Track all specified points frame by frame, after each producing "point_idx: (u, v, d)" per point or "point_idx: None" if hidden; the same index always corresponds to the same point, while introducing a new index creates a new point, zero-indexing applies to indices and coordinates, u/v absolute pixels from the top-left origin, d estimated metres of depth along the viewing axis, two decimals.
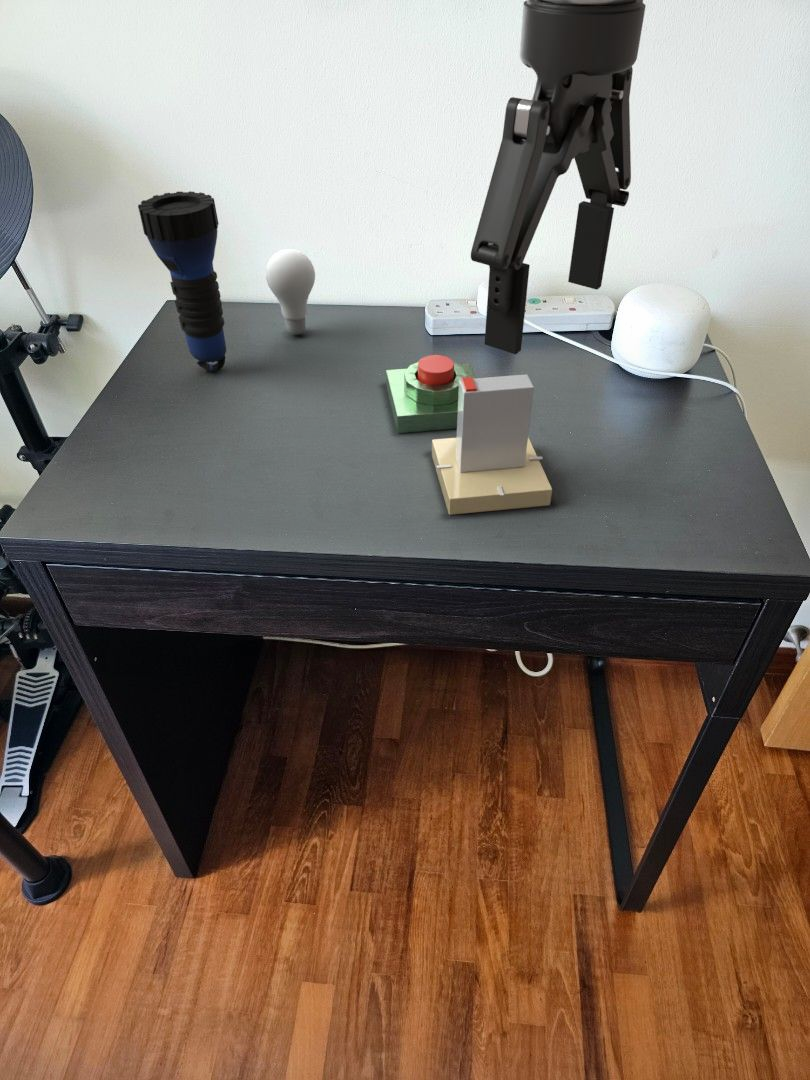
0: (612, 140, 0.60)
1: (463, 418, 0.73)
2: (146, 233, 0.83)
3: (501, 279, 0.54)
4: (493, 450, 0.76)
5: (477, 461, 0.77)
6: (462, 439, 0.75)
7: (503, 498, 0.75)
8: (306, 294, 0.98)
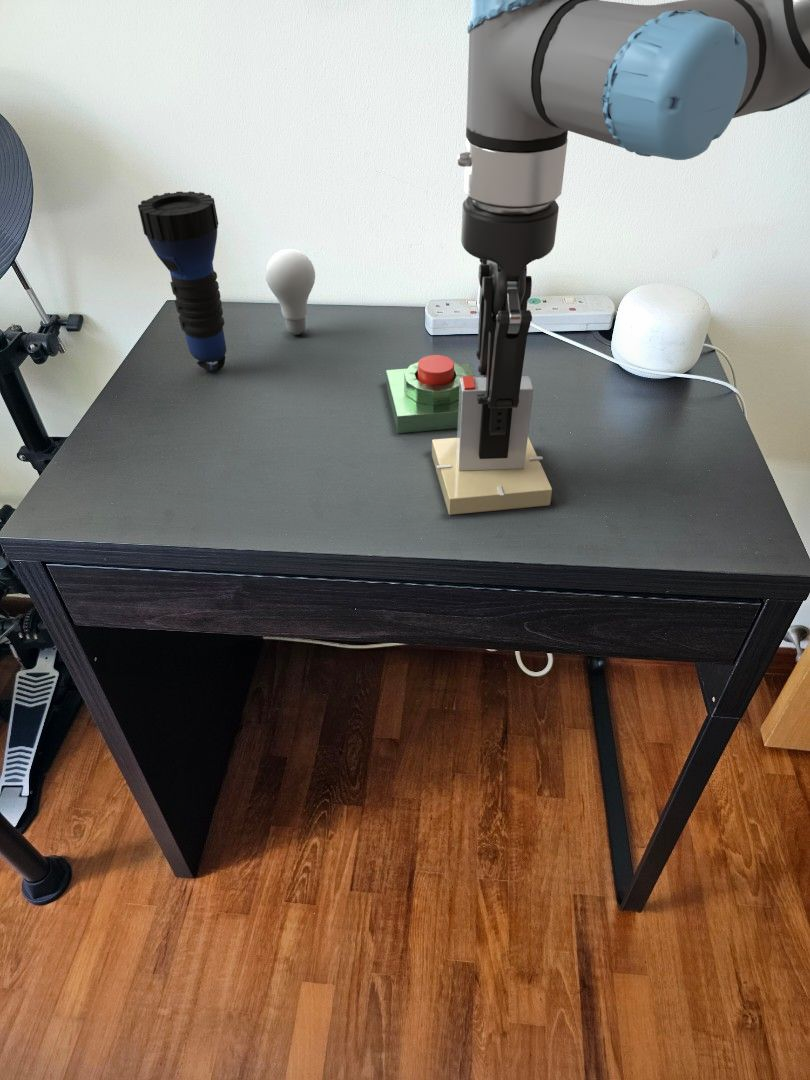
0: None
1: (461, 416, 0.73)
2: (146, 233, 0.83)
3: (502, 412, 0.71)
4: None
5: (475, 460, 0.77)
6: (460, 437, 0.75)
7: (503, 498, 0.75)
8: (306, 294, 0.98)
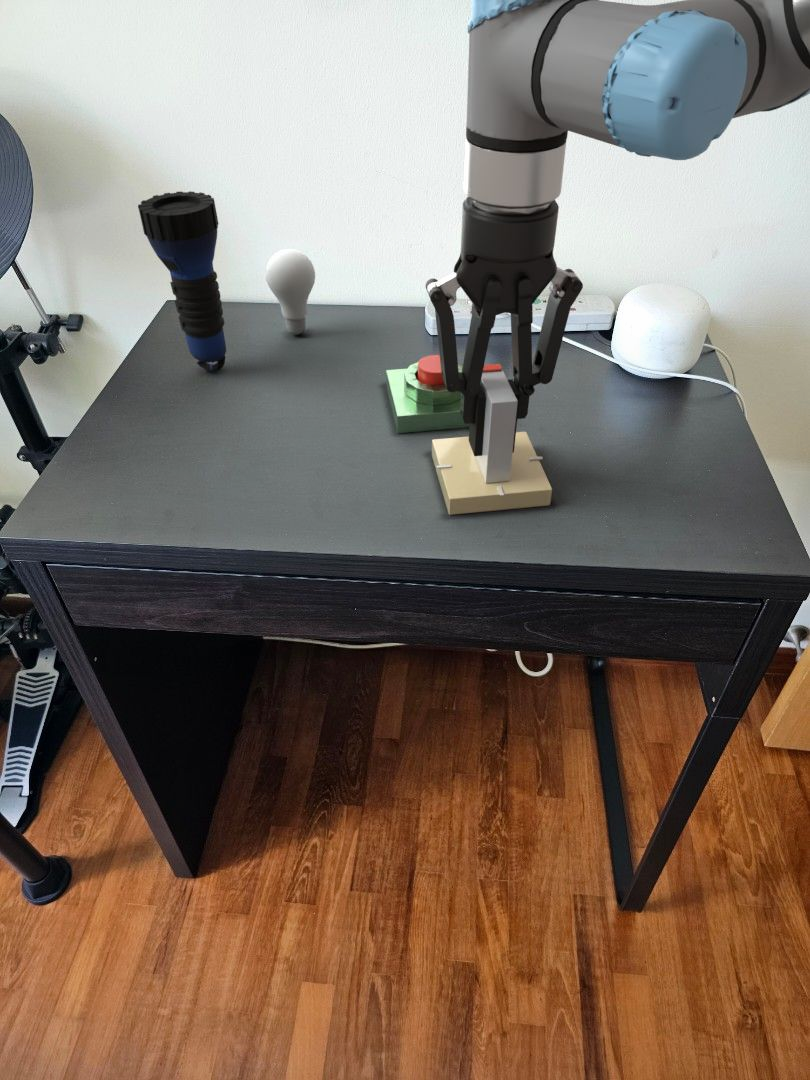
0: (547, 331, 0.69)
1: None
2: (146, 233, 0.83)
3: (463, 398, 0.73)
4: None
5: None
6: None
7: (503, 498, 0.75)
8: (306, 294, 0.98)
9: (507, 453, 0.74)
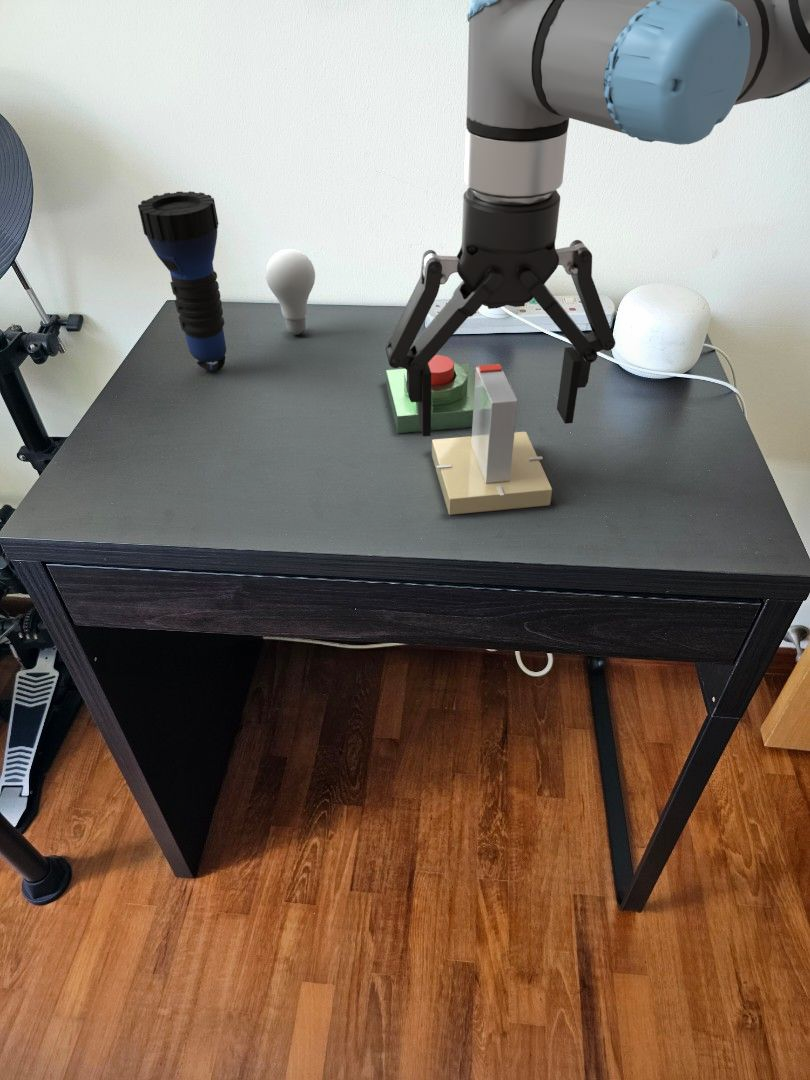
0: (585, 305, 0.68)
1: (474, 392, 0.77)
2: (146, 233, 0.83)
3: (408, 375, 0.70)
4: (479, 443, 0.77)
5: (475, 444, 0.79)
6: (473, 413, 0.78)
7: (503, 498, 0.75)
8: (306, 294, 0.98)
9: (507, 453, 0.74)
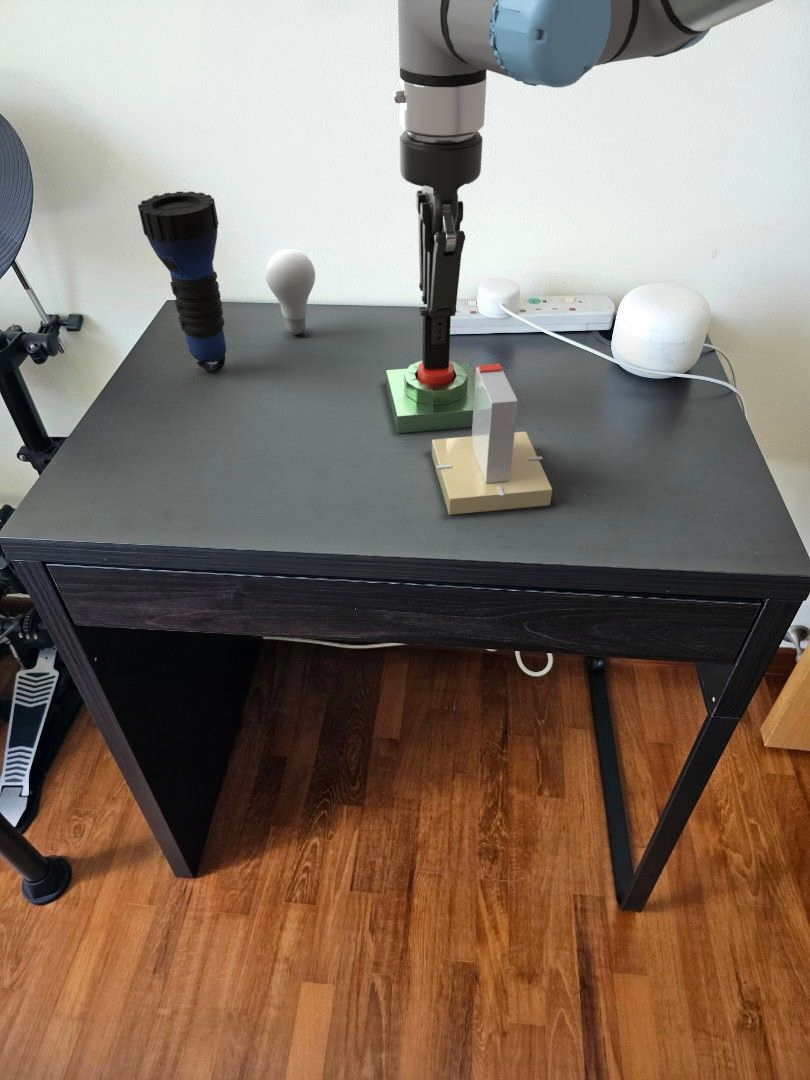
0: None
1: (474, 392, 0.77)
2: (146, 233, 0.83)
3: (442, 323, 0.82)
4: (479, 443, 0.77)
5: (475, 444, 0.79)
6: (473, 413, 0.78)
7: (503, 498, 0.75)
8: (306, 294, 0.98)
9: (507, 453, 0.74)
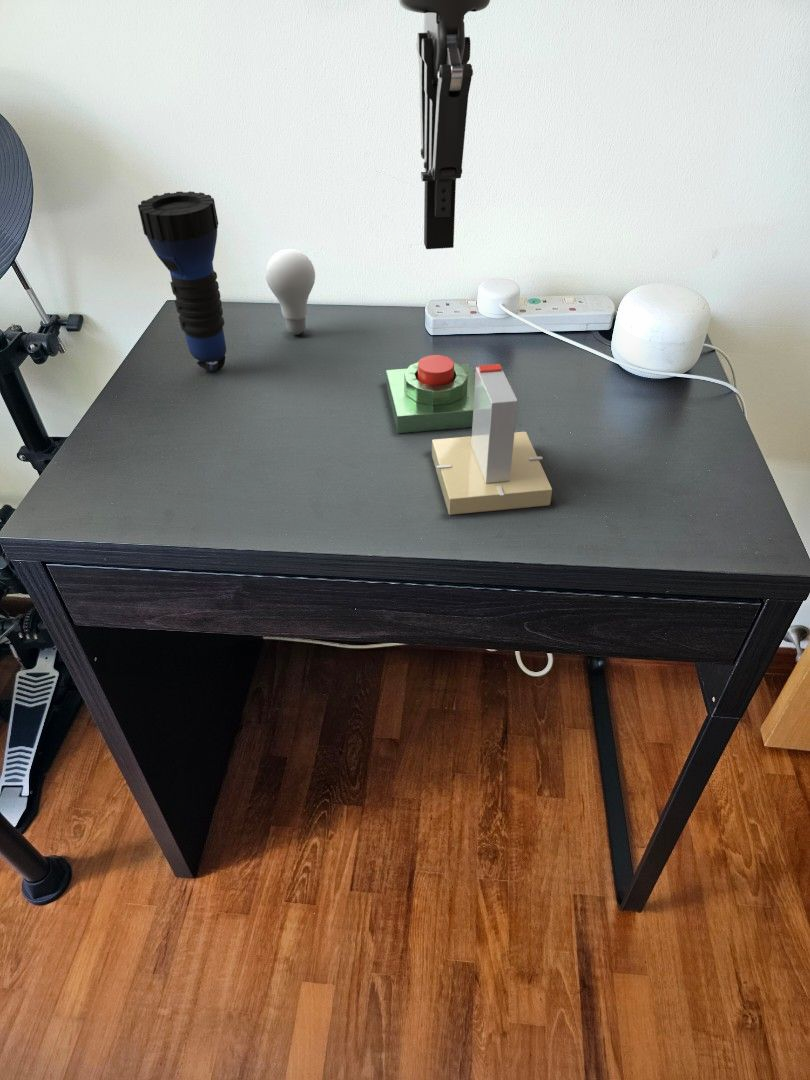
0: None
1: (474, 392, 0.77)
2: (146, 233, 0.83)
3: (446, 190, 0.73)
4: (479, 443, 0.77)
5: (475, 444, 0.79)
6: (473, 413, 0.78)
7: (503, 498, 0.75)
8: (306, 294, 0.98)
9: (507, 453, 0.74)
